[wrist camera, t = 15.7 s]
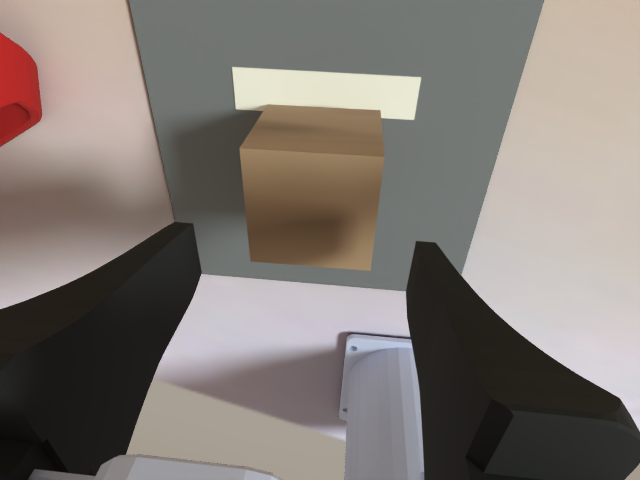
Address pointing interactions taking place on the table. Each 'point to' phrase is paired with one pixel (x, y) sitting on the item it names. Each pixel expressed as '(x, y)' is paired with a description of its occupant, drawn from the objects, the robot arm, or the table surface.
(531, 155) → the table surface
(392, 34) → the letter mat
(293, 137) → the walnut cube
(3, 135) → the tracker holder
